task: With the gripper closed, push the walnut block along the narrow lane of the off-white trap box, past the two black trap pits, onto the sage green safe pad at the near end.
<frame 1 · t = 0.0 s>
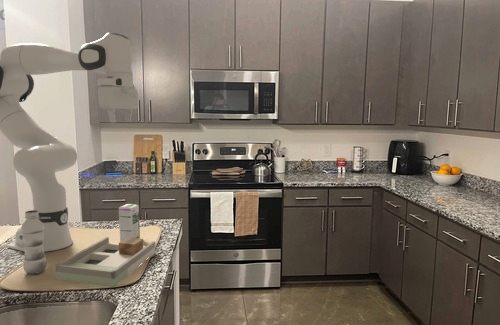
hand: (120, 122, 131), 48 cm above the worktop, tool pointing down, fingers open, 8 cm apart
trap box: (110, 265, 126), on the worktop
walnut block: (131, 251, 132), point 2 cm above the worktop, touching trap box
syrup box: (129, 241, 150), on the worktop
plastic bottle: (35, 272, 120), on the worktop
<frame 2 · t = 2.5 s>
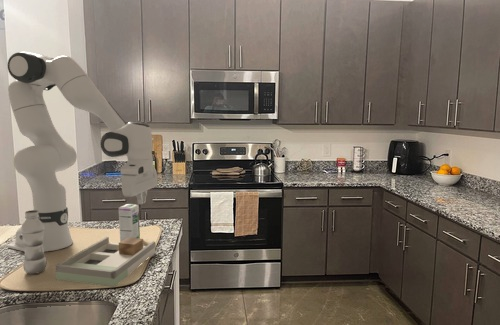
hand: (141, 203, 138), 18 cm above the worktop, tool pointing down, fingers closed
nothing on the worktop moved.
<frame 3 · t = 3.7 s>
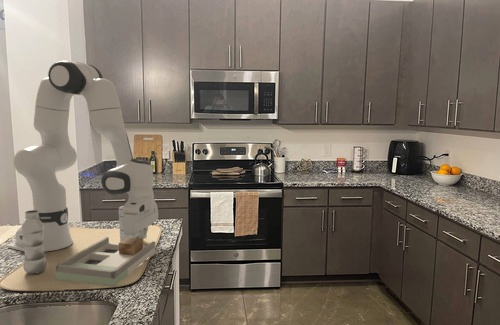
hand: (142, 238, 139), 5 cm above the worktop, tool pointing down, fingers closed
nothing on the worktop moved.
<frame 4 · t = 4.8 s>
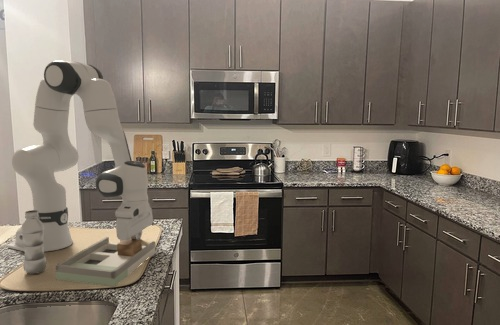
hand: (136, 243, 135), 4 cm above the worktop, tool pointing down, fingers closed
walnut block: (130, 252, 131), point 3 cm above the worktop, touching gripper
everything else where it was.
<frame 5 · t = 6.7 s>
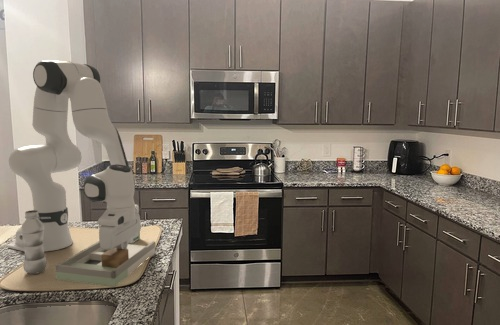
hand: (122, 253, 126), 4 cm above the worktop, tool pointing down, fingers closed
walnut block: (115, 263, 122), point 3 cm above the worktop, touching gripper
everything else where it was.
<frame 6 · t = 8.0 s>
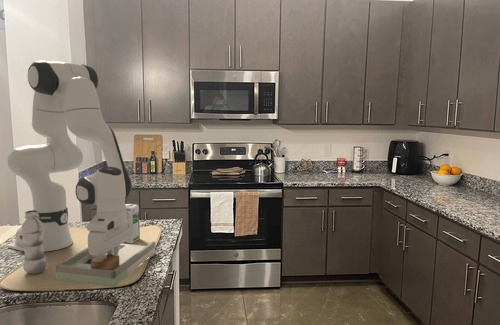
hand: (113, 259, 121), 4 cm above the worktop, tool pointing down, fingers closed
walnut block: (105, 270, 116), point 2 cm above the worktop, touching gripper, trap box
everything else where it was.
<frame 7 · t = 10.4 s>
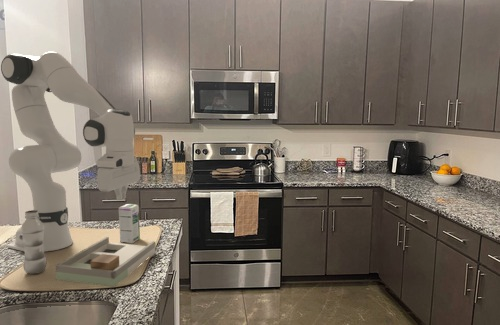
hand: (121, 199, 126), 22 cm above the worktop, tool pointing down, fingers closed
walnut block: (105, 270, 116), point 2 cm above the worktop, touching trap box
everything else where it was.
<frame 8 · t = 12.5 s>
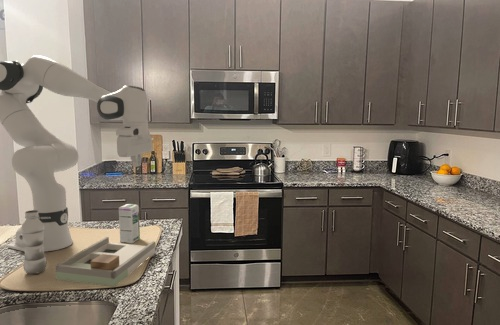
hand: (136, 166, 141), 31 cm above the worktop, tool pointing down, fingers closed
nothing on the worktop moved.
at the end: walnut block inside the target area on the trap box (0.2 cm from its centre), point 2.5 cm above the trap box's base; walnut block tilted 0°; walnut block moved 16.2 cm from its start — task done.
